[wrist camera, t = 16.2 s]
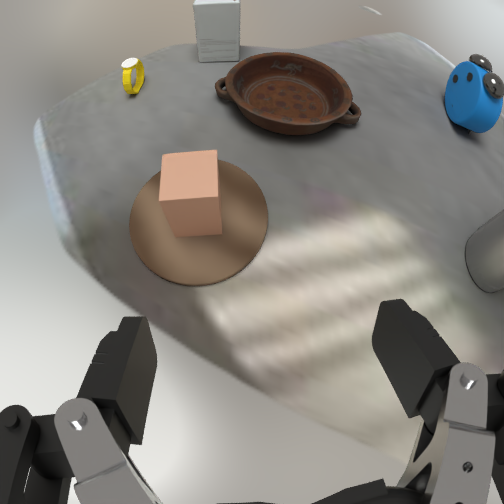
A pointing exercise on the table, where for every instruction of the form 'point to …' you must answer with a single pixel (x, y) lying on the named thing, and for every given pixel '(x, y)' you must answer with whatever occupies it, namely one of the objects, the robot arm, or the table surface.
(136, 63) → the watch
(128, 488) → the robot arm
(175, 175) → the salmon pink block
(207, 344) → the table surface
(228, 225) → the post stand
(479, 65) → the alarm clock
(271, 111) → the dish
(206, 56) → the supplement box
